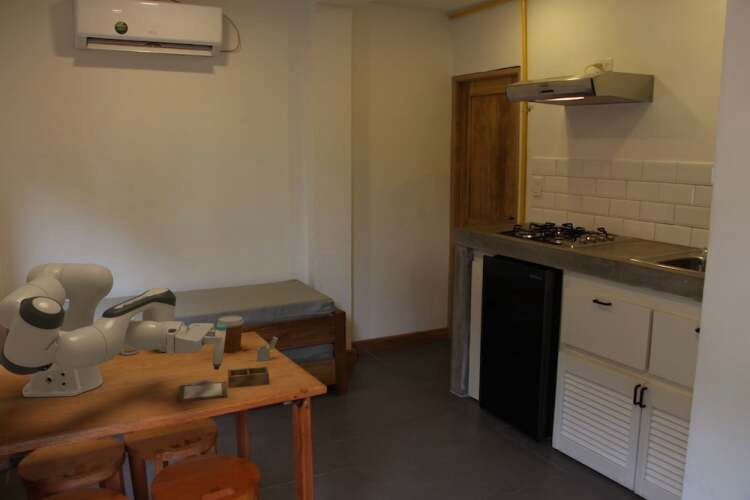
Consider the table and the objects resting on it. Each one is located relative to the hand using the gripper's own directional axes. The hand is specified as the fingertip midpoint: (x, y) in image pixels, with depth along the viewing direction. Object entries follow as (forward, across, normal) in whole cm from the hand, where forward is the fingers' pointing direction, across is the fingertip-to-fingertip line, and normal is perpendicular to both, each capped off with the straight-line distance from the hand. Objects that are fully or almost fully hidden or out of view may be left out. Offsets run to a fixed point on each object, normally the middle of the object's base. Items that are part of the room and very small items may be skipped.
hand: (223, 337), depth 190 cm
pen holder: (+6, -11, -18) cm, 22 cm away
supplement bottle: (-43, -41, -19) cm, 62 cm away
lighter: (+9, -33, -17) cm, 38 cm away
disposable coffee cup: (-6, -44, -17) cm, 47 cm away
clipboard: (-7, -3, -18) cm, 20 cm away
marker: (-2, 0, -10) cm, 10 cm away
